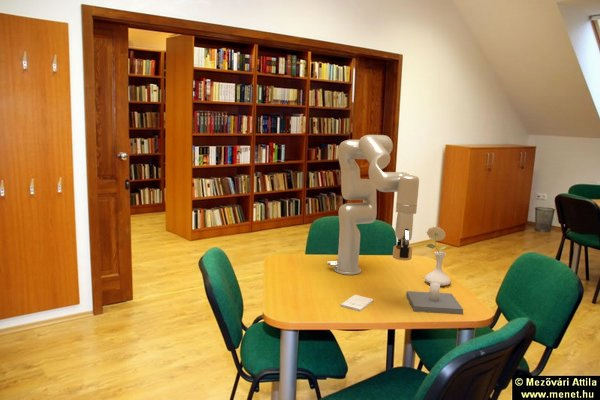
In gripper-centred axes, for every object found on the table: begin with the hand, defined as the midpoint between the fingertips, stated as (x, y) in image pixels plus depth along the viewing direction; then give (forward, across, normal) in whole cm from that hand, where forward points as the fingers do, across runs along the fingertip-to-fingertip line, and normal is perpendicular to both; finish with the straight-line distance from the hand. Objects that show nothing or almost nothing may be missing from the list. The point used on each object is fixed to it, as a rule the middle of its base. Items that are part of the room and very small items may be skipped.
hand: (402, 254), depth 184 cm
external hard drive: (+21, +2, -16) cm, 26 cm away
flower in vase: (+20, -28, +20) cm, 40 cm away
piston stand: (+20, -2, +14) cm, 24 cm away
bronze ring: (+1, 0, 0) cm, 1 cm away
